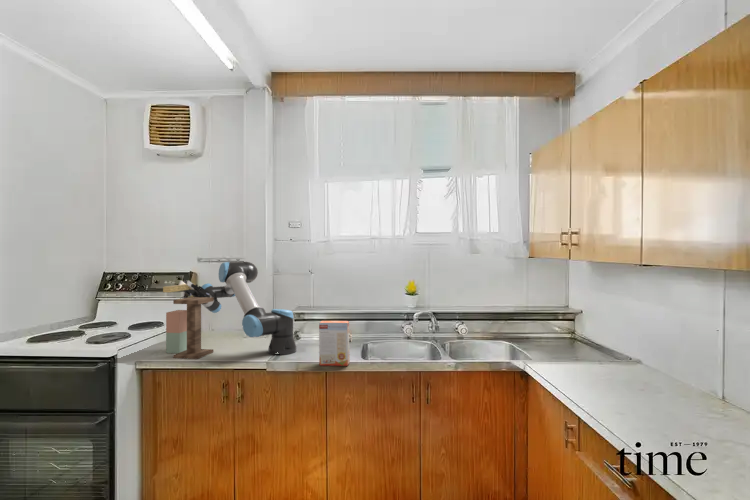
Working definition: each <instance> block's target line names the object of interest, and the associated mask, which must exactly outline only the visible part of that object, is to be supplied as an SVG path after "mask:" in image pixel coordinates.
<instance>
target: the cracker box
mask: <svg viewBox="0 0 750 500" xmlns="http://www.w3.org/2000/svg"><path fill="white" fill-rule="evenodd" d="M349 330H350V321H348V320H321V321H320V322H318V341H319V344H318V349H319V351H318V353H319V355H318V359H319V360H318V362H319V364H318V365H319V366H325V367H327V366H329V367H330V366H332V367H334V366H335V367H348V366H349V364H350V360H351V359H350V355H351V354H350V341H349Z"/></svg>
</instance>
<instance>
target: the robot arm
mask: <svg viewBox="0 0 750 500" xmlns="http://www.w3.org/2000/svg"><path fill="white" fill-rule="evenodd" d="M218 268H219V269H218V280H219V282H220V283H225V284H226V285H224V286H222V285H221V286H213V285H212V284H211V283H205V284H203V285H202V286H200V285H198V284H197V283H193V282H191V280H187V281H186V283H185V282H184V281H183V280H181V279H180V280H179V282H178V285H181V284H186V285H187V286H189V287H190V288H191V289H190V290H183V291H182V292H184V294H186V295H187V296H188V297H214V301H212V302H207V303H202V304H201V306H203V307H204V308H205V309H207V310H208V311H210V312H212V313H214V314H215V313H219V312H220V311H221V309H222V304H221V303H220V301H219V300H218V299H219V298H220V299H222V298H233V297H235V298H236V300H237V302H238V305H239V306H240V308H241V310H242V313H243V314H244V315H243V318H242V320H241V324H242V325H241V326H242V330H243V332H244V334H246V336H248V337H250V338H259V337H262V336H263V337H264V336H270V335H271V339H270V342H269V346H268V351H267V352H268V354H270V355H274V354H275V353H277V352H278V353H279V354H280V355H279V356H282V355H290V354H294V353H296V352H297V344H296V342H295V338H294V313H293V311H292V310H290V309H283V308H281V309H280V308H272V309H271V310H270V312H266V310H265V309H264V307H262V306H260V305H259V304H258V301H257V299H256V298H255V296H254V293H252V291H251V288H250V287H249V284H250V283H252V282H254V281H255V280H256V278H257V277H258V273H259V272H258V271H259V270H258V268H257V266H256V265H255V264H253V262H250V261H224V262H222V263H220V265H219V267H218ZM194 284H195V285H194Z"/></svg>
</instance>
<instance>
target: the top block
mask: <svg viewBox="0 0 750 500" xmlns="http://www.w3.org/2000/svg"><path fill="white" fill-rule="evenodd" d="M165 313H166V314H165V317H166V318H165V334H166V333H181V332H185V331H187V309H177V310H176V309H175V310H172V311H168V312H165Z"/></svg>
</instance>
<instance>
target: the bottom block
mask: <svg viewBox="0 0 750 500" xmlns="http://www.w3.org/2000/svg"><path fill="white" fill-rule="evenodd" d="M165 340H166V341H165V344H166V345H165V353H166V354H177V353H180V352H183V351H185V350H187V331H185V332H181V333H166V332H165Z"/></svg>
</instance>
